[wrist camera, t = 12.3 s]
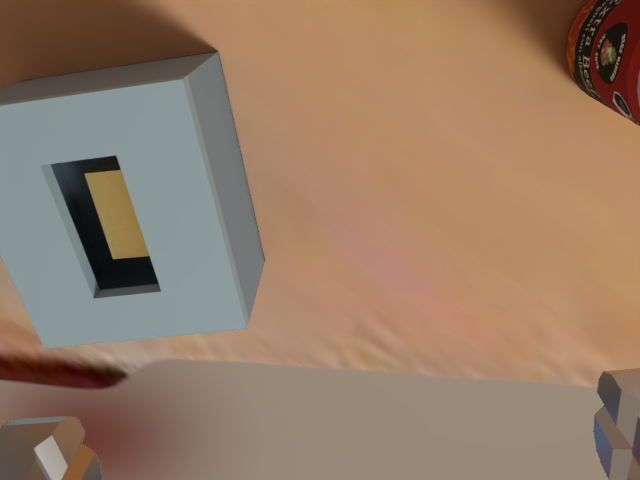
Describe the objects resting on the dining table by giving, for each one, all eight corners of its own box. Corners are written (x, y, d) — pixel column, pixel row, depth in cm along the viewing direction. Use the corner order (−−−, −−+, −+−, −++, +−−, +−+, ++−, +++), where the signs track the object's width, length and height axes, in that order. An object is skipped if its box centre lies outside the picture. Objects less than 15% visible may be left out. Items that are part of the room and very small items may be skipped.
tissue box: (21, 81, 37) (-67, 115, 29) (218, 51, 36) (182, 79, 28) (98, 278, 45) (44, 348, 37) (264, 260, 43) (246, 329, 35)
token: (120, 143, 38) (84, 173, 33) (154, 139, 38) (123, 169, 33) (143, 219, 41) (113, 259, 36) (175, 216, 41) (149, 256, 36)
